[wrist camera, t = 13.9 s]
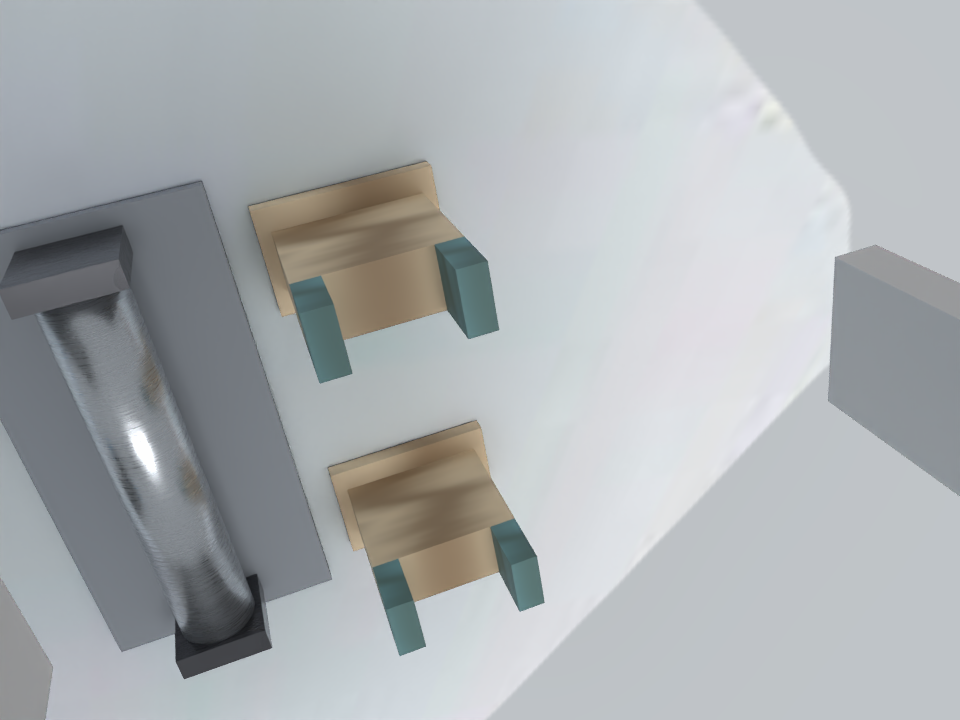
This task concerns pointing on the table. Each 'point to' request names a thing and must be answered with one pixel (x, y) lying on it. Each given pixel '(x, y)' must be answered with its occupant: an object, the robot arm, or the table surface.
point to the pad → (199, 396)
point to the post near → (370, 262)
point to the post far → (433, 525)
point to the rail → (141, 439)
